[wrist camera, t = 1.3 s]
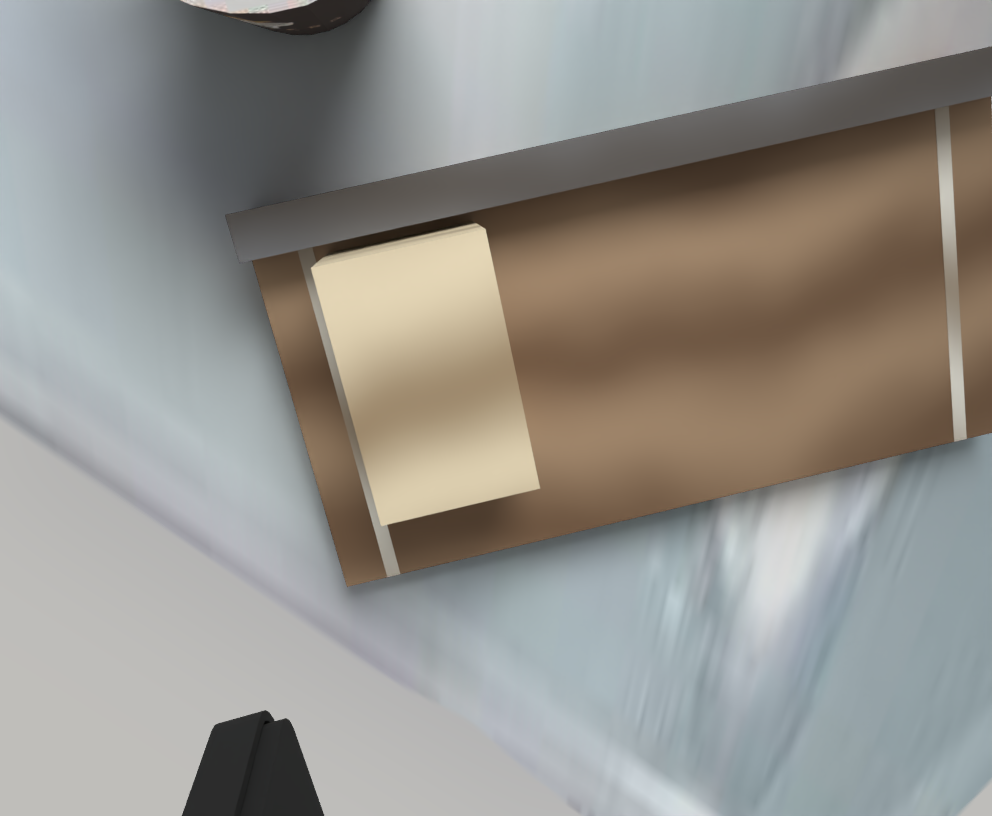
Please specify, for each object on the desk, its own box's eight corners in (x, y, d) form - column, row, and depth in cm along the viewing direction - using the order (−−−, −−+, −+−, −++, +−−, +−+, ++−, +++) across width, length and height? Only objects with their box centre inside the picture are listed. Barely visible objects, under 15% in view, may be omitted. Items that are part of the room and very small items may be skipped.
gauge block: (327, 253, 28) (310, 268, 23) (472, 221, 28) (485, 229, 23) (389, 486, 30) (385, 543, 26) (522, 455, 31) (543, 506, 26)
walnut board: (249, 210, 29) (225, 214, 25) (952, 56, 30) (1030, 37, 26) (350, 563, 33) (343, 613, 29) (971, 415, 34) (1041, 445, 30)
